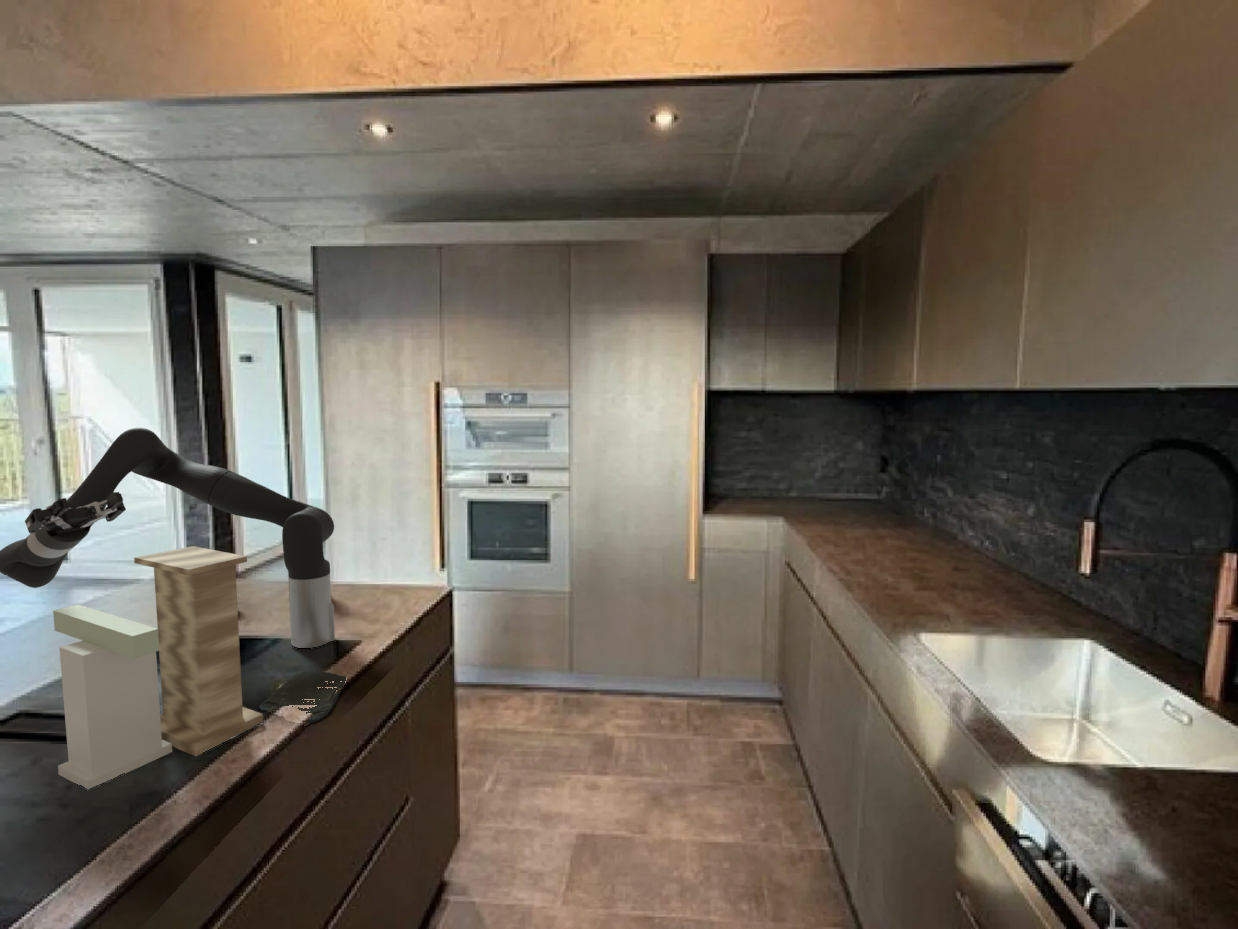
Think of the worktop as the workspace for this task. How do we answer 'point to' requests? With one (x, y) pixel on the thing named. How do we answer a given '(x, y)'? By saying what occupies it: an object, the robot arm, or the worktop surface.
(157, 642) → the bar
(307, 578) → the robot arm
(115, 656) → the pedestal
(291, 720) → the worktop surface
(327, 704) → the stone slab
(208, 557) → the stand
